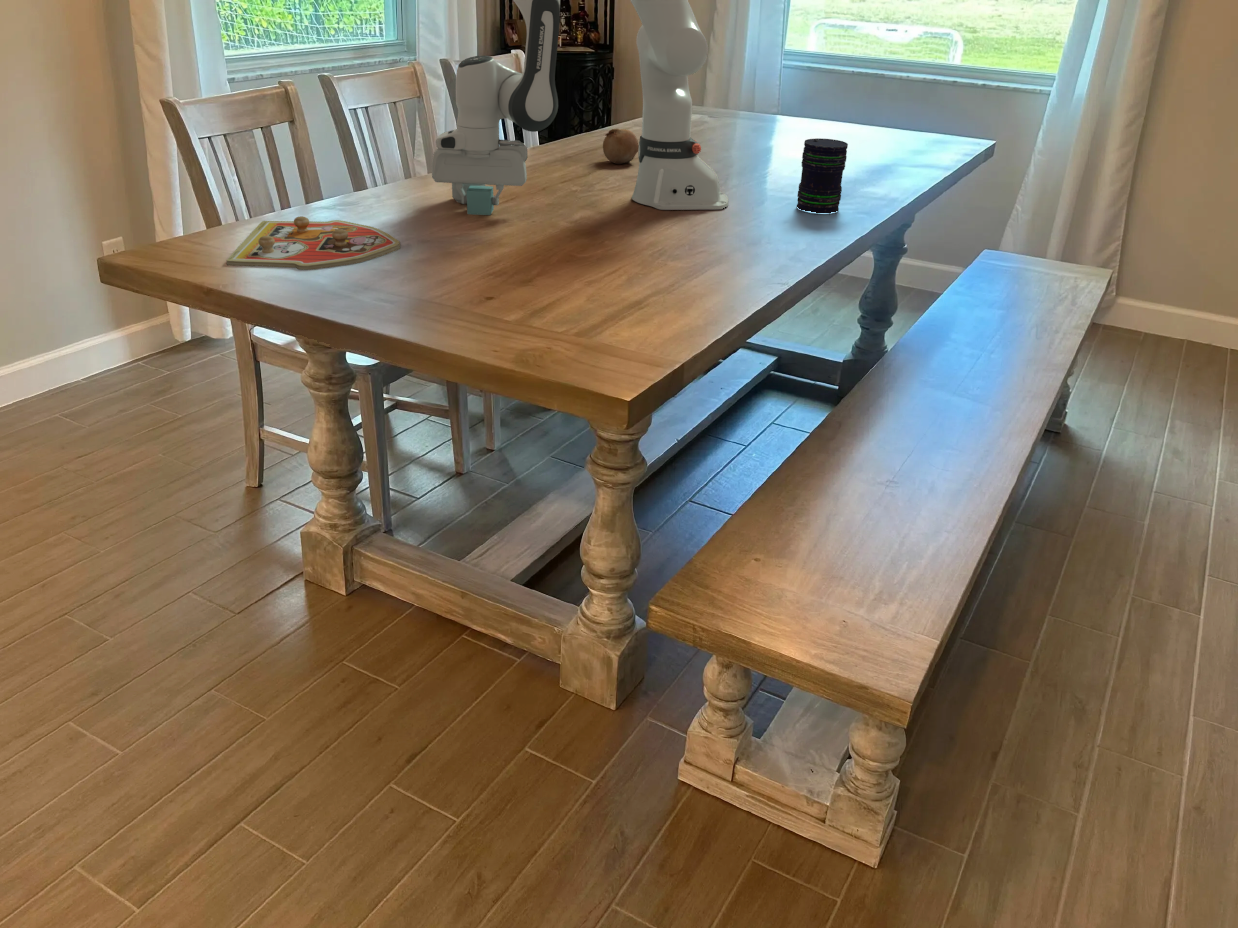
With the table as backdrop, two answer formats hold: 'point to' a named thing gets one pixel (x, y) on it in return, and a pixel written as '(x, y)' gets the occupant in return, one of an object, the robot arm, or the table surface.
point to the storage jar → (821, 175)
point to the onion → (620, 146)
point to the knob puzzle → (312, 244)
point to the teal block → (479, 200)
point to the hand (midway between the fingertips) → (480, 204)
